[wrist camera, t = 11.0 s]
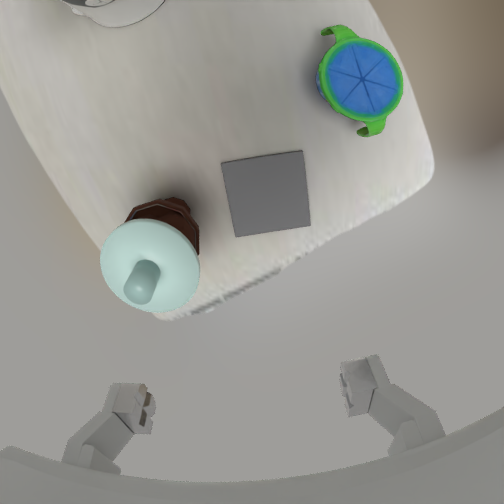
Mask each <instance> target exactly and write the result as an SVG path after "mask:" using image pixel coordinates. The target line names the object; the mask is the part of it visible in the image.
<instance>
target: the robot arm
mask: <svg viewBox="0 0 504 504" xmlns="http://www.w3.org/2000/svg"><path fill="white" fill-rule="evenodd" d="M60 1H62V2H64V3H66V4H67V5H69V6H71V7H72V11H73V12H74V13H75V14H77V15H81V16H88V17H90V18H91V19H92V20H93V21H95V22H96V23H98V24H100V25H102V26H106V27H122V26H127V25H130V24H133V23H136V22H138V21H140V20H142V19H144V18H145V17H147V16H148V15H150V14H151V13H152V12H154V11H155V10H156V9H157V8H158V7H159V6H160V5H161V4H162V3H163V2H164V0H60ZM340 368H341V372H342V373H341V374H340V387H341V392H342V395H343V396H344V397H345V407H346V410H347V414H348V417H350V416H356V415H361V414H365V413H368V414H369V415H370V416H371V417H372V418H373V419H375V420H376V421H377V422H378V423H379V424H380V425H381V426H382V427H384V428H385V429H386V430H387V431H388V432H389V433H390V434H392V435H393V436H394V439H393V441H392V443H391V445H390V447H389V449H388V454H389V456H388V457H385V458H382V459H378V460H374V461H371V462H367V463H363V464H359V465H355V466H351V467H346V468H342V469H338V470H332V471H327V472H321V473H316V474H310V475H304V476H296V477H289V478H280V479H271V480H259V481H242V482H185V481H169V480H157V479H147V478H139V477H131V476H124V475H120V473H121V469H120V468H119V467H118V466H117V465H116V464H115V463H113V460H114V459H115V458H116V457H117V455H118V454H119V453H120V452H121V450H122V449H123V448H124V447H125V445H126V444H127V443H128V442H129V440H130V439H131V438H132V437H133V435H134V434H151V430H152V424H153V421H152V419H151V417H152V416H153V415H154V414H155V409H156V405H155V400H154V397H153V396H152V394H150V393H149V392H147V387H146V386H145V384H134V383H113V384H112V385H111V386H110V389H109V392H108V394H107V397H106V400H105V404H104V407H103V410H102V412H98V413H97V414H96V415H95V416H94V417H93V418H92V419H91V420H90V421H88V423H86V424H85V425H84V426H83V427H82V428H81V429H80V430H79V431H78V432H76V433H75V434H74V435H73V436H72V437H71V438H70V439H69V440H68V442H67V445H66V448H65V452H64V455H63V458H62V461H61V462H59V461H56V460H53V459H49V458H46V457H43V456H39V455H36V454H34V453H31V452H28V451H25V450H22V449H20V448H17V447H14V446H7V447H6V448H4V449H3V450H1V451H0V504H504V407H502V408H501V409H499V410H497V411H496V412H494V413H492V414H490V415H488V416H486V417H484V418H483V419H480V420H478V421H476V422H474V423H472V424H471V425H468V426H466V427H464V428H462V429H460V430H458V431H455V432H453V433H451V434H449V435H445V432H444V430H443V427H442V425H441V423H440V420H439V418H438V416H437V413H436V411H435V410H433V409H432V408H430V407H429V406H427V405H426V404H424V403H423V402H421V401H419V400H418V399H416V398H415V397H413V396H412V395H410V394H409V393H407V392H406V391H404V390H403V389H401V388H400V387H398V386H396V385H395V384H390V382H389V379H388V376H387V374H386V372H385V369H384V367H383V365H382V362H381V360H380V358H379V356H378V355H377V354H375V355H371V356H367V357H361V358H357V359H353V360H349V361H344V362H341V367H340Z"/></svg>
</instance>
